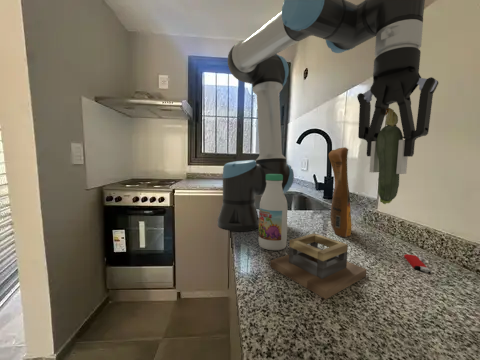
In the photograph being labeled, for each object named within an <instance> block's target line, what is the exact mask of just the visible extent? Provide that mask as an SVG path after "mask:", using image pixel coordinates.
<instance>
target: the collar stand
mask: <svg viewBox="0 0 480 360" xmlns="http://www.w3.org/2000/svg"><path fill="white" fill-rule="evenodd" d="M319 244H320V245H323V246H326V248H321V247H319ZM348 246H349V245H348V244H347V243H345V242H343V241H342V242H341V241H339V240H337V239H332V238H330V237H327V236H324V235H320V234H318V233H315V232H314V233H310V234H306V235H303V236H299V237H296V238H292V239H289V248H288V254H287V255H283V256H279V257H277V258H274V259H270V267H269V268H271V269H273V270H275V271H276V272H278V273H280V274H281V275H283V276H284V277H287V278H288V279H290V280H292V281H293V282H295V283H297V284H299V285H301V286H302V287H304V288H305V289H307V290H309V291H311V292H312V293H314V294H316V295H318V296H319V297H321V298H322V299H325V300H328V299H330V298H331V297H333V296H334V295H336V294H338V293H339V292H342V291H343V290H344V289H346V288H349V287H350V286H351V285H354V284H355V283H357V282H359V281H361V280H363V279H364V278H366V277H367V272H368V271H367V268H365V267H362V266H360V265H357V264H354V263H352V262H349V261H348V250H349V249H348V248H349V247H348Z"/></svg>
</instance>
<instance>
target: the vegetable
mask: <svg viewBox="0 0 480 360" xmlns="http://www.w3.org/2000/svg"><path fill="white" fill-rule="evenodd" d="M385 117H386V120H385V126H383V127H381V130H380V132H379V134H378V137H377V155H378V159H379V172H378V179H377V180H378V184H377V194H378V196H379V202H380V203H382V204H384V205H386V204H390V203H391V202H392V201H393V200H394V199H395V198H396V197H397V194H398V191H399V187H400V174H396V171H397V158H398V146H399V140H404V138H403V137H404V135H403V131H402V130H401V128H400V127H398V121H399V117H398V114H397V113H396V112H395V111H394V109H392V108H391V107H389V108H387V109H386V113H385Z"/></svg>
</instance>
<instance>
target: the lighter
mask: <svg viewBox="0 0 480 360" xmlns="http://www.w3.org/2000/svg"><path fill="white" fill-rule="evenodd" d="M403 258H405V260H406V261H407V262H408V264H409V265H410V266H411V267H412V268H413V269H414V271H420V272H421V273H426V274H432V271H431V269H430V268H428V266H427V265H426V264H425V263H424V262H423V261H422V260H421V259H420V258H419V257H418V256H417V255H414V254H404V255H403Z"/></svg>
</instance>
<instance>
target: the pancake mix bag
mask: <svg viewBox="0 0 480 360" xmlns="http://www.w3.org/2000/svg"><path fill="white" fill-rule="evenodd" d="M349 150H350V149H349V148H347V147H346V146H345V147H344V146H343V147H339V148H335V149H332V150H331V151H330V152H329V153H328V158H329V161H330V162H329V163H330V165H331V169H332V171H333V178H334V189H333V192H332V193H333V195H332V200H331V205H330V224H331V228H332V229H333V231H334V234H335V236H338V237H341V238H347V237H350V236H351V233H352V228H353V227H352V226H353V224H352V212H351V211H352V210H351V197H350V189H349V188H350V187H349V182H348V180H349V179H348V178H349V177H348V154H349Z"/></svg>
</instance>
